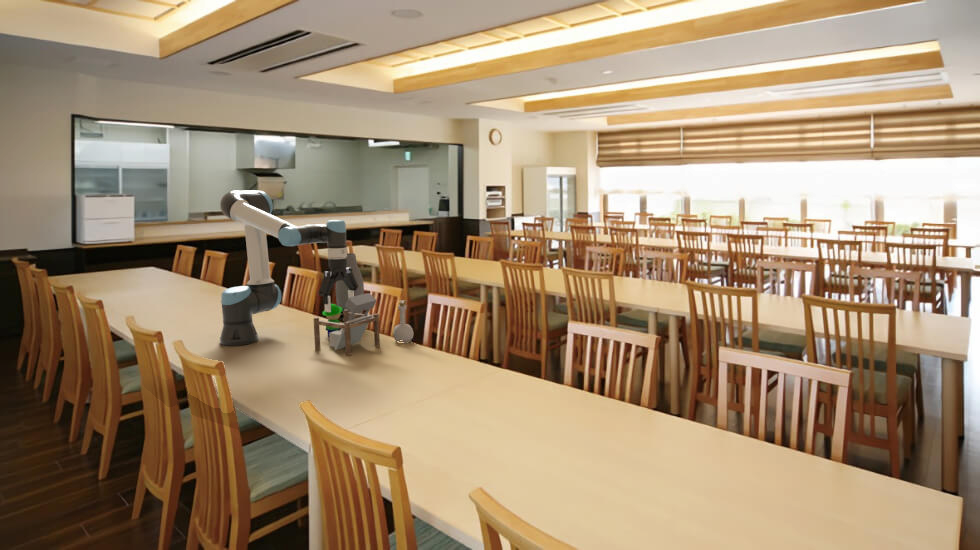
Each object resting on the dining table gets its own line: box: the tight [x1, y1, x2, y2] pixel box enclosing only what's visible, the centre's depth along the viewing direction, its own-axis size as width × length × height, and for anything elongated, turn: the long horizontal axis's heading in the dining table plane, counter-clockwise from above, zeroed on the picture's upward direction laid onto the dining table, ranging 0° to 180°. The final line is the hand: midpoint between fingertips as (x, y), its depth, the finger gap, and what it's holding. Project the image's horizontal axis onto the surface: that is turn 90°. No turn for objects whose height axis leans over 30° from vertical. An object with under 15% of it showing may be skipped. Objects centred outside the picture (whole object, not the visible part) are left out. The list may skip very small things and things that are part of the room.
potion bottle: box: [392, 299, 414, 344], centre depth 249 cm, size 9×9×18 cm
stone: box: [328, 330, 345, 350], centre depth 243 cm, size 6×5×6 cm
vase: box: [335, 252, 365, 324], centre depth 274 cm, size 13×13×35 cm
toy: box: [321, 303, 344, 338], centre depth 257 cm, size 9×9×15 cm
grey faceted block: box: [333, 292, 378, 351], centre depth 237 cm, size 22×14×6 cm
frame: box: [313, 310, 381, 357], centre depth 240 cm, size 18×18×14 cm
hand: (339, 308), depth 240 cm, fingers open, 13 cm apart
